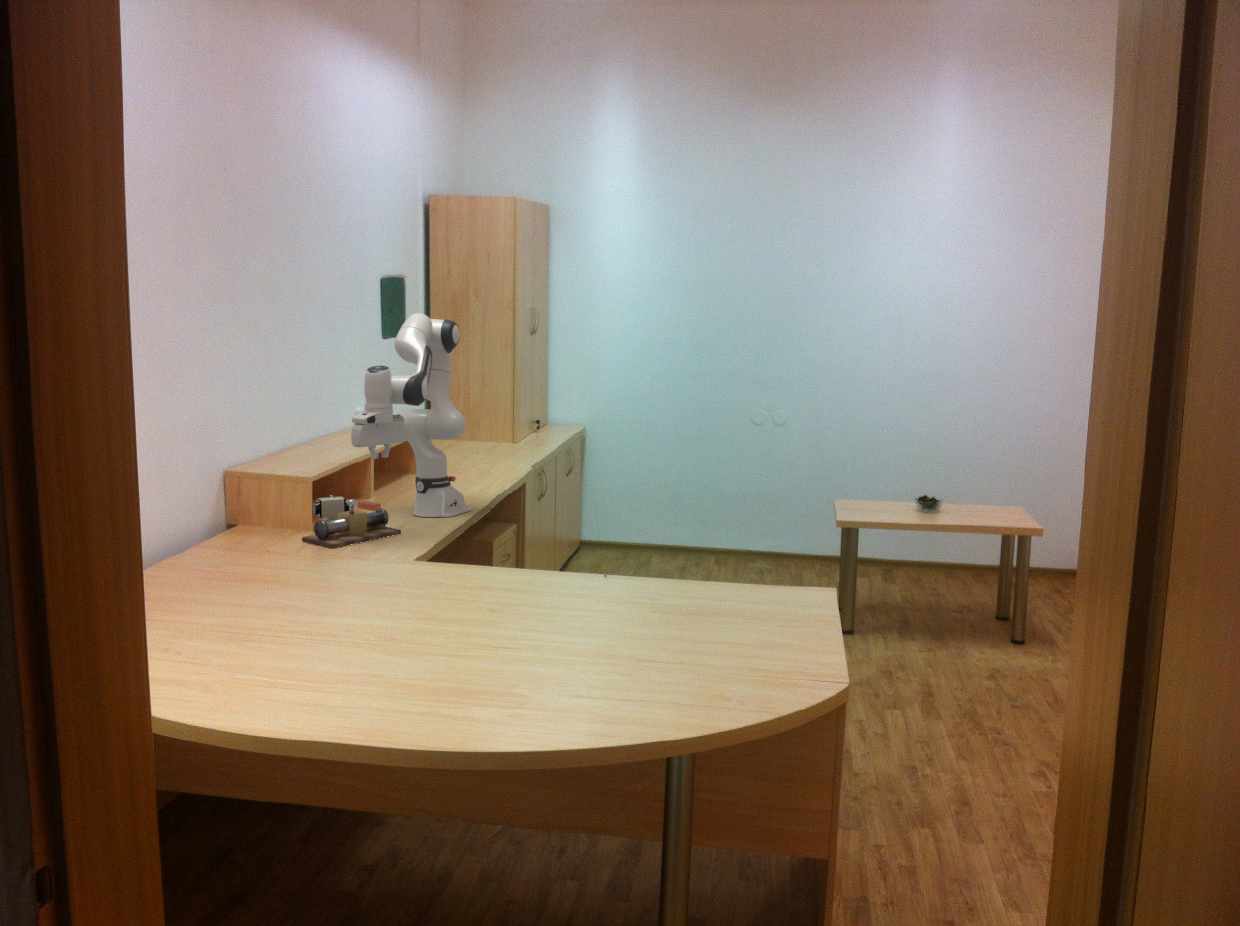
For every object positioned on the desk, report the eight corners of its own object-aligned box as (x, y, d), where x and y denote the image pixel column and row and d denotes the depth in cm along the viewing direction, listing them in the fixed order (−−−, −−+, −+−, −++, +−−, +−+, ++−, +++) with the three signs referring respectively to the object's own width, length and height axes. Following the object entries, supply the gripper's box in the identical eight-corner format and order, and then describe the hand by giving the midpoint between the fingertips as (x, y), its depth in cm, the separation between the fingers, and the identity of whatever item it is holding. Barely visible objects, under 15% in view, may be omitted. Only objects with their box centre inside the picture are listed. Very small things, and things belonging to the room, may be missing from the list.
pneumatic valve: (350, 529, 356) (349, 495, 355) (316, 532, 351) (315, 497, 349) (347, 526, 361) (346, 492, 360) (313, 529, 356) (311, 494, 354)
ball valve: (376, 525, 356) (376, 499, 354) (389, 528, 352) (388, 501, 350) (313, 538, 335) (312, 510, 334) (326, 541, 331) (325, 513, 330)
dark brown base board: (370, 527, 359) (369, 518, 359) (401, 534, 350) (400, 525, 349) (302, 541, 337) (301, 532, 337) (333, 548, 328) (332, 539, 327)
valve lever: (344, 505, 342) (344, 499, 341) (352, 504, 344) (352, 498, 344) (373, 511, 333) (373, 504, 333) (380, 509, 335) (380, 503, 335)
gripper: (397, 413, 346) (398, 453, 348) (347, 418, 330) (349, 460, 332) (410, 414, 342) (410, 455, 344) (360, 419, 326) (361, 462, 328)
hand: (380, 458), depth 338 cm, fingers open, 3 cm apart
